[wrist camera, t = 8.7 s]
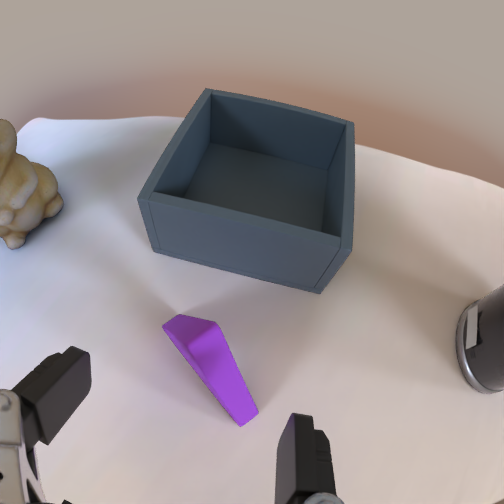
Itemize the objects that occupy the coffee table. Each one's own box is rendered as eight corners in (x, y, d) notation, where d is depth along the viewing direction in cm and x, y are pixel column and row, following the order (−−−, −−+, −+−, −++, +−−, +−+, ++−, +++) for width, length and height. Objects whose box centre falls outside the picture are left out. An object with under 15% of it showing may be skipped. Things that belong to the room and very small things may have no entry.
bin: (333, 173, 31) (354, 122, 25) (320, 294, 24) (352, 251, 18) (204, 142, 32) (205, 88, 26) (153, 252, 25) (136, 198, 19)
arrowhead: (217, 372, 25) (292, 442, 16) (201, 383, 24) (271, 459, 16) (155, 272, 21) (218, 323, 13) (135, 284, 20) (185, 346, 12)
